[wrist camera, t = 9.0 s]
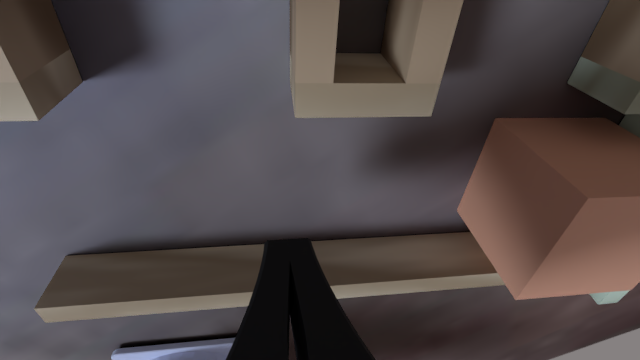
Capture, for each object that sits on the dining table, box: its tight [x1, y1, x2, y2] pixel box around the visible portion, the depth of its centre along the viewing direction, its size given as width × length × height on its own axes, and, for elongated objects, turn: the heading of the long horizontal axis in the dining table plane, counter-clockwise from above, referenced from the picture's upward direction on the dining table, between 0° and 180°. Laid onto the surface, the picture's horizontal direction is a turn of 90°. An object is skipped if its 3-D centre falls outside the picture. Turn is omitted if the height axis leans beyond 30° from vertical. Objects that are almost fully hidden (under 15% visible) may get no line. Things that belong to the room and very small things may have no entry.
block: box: [457, 118, 640, 300], centre depth 13 cm, size 5×5×5 cm
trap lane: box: [0, 0, 640, 323], centre depth 10 cm, size 17×25×4 cm
